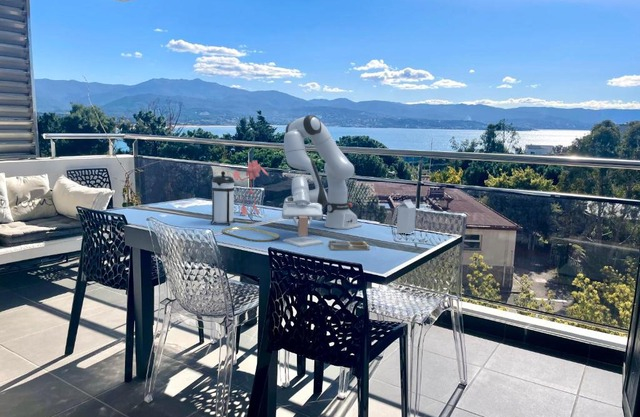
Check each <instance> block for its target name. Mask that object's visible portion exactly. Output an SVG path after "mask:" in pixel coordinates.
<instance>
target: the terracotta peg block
mask: <svg viewBox="0 0 640 417" xmlns="http://www.w3.org/2000/svg"><path fill="white" fill-rule="evenodd" d="M298 221H299V226H297V228H298V229H297V235H298V236H299V237H305V236H306V237H308V233H309V232H308V229H309V228H308V227H309V226H308V221H309V219H308V217H307V216H299V219H298Z"/></svg>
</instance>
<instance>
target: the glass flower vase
mask: <svg viewBox="0 0 640 417" xmlns="http://www.w3.org/2000/svg"><path fill="white" fill-rule="evenodd" d="M247 166H248V167H247V168H246V173H245V176H247V177H245V178H243V179H242V178H241V175H240V172H239V171H238V170H234V171H233V179H234V180H236V181H238V180H239V179H240V181H241V182H242V181H244V180H247V179H249V180H248V181H249V183H250V189H249V190H248V193H247V194H244V195H243V196H242V203H243V204H242V206H241V208H240V211H241V212H240V216H241V215H243V216H246V215H247V212H248V210H247V207H246V206H245V201H244V200H245V199H244V197H245V196H247V195H249V194H250V195H252V194H253V196H254V197H253V198H254V202H253V203H254V204H252V205H253V206H252V210H251V212H250V214H252V213H253V211H255V212H256V213H257V214H260V213H259V210H258V207H257V206H256V195H255V193H254V190H253V189H252V181H251V180H254V181H255V180H256V178H258V177H260V172H261V171H262V172H263V174H264V175H266V176H268V177H269V173H268V172H267V171H266V170H265V169H264V168H263V167H261V164H260V163H258V160H252V161H250V162H248V163H247ZM266 216H268V214H266V215H264V216H262V218H265V217H266Z"/></svg>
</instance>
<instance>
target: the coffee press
mask: <svg viewBox="0 0 640 417" xmlns="http://www.w3.org/2000/svg"><path fill="white" fill-rule="evenodd" d="M211 185H212V186H211V221H210V225H212V226H214V225H215V224H216V223H219V224H224V223H225V224H226V226H231V223H232V224H233V223H235V222H236V221H235V219H234V215H235V214H234V211H235V208H234V205H235V204H234V202H235V201H234V198H235V195H234V194H235V192H234V191H235V178H234V177H232V176H231V175H230V176H229V175H226V171H221V175H215V176H214V177H212V180H211Z"/></svg>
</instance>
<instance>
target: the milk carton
mask: <svg viewBox="0 0 640 417" xmlns="http://www.w3.org/2000/svg"><path fill="white" fill-rule="evenodd" d="M416 211H417V207H416V205H415V204H414V203H413V202H412V199H410V198H409V199H404V200H403V201H402V202H401V204H400V205H398V206H397V219H396V232H397V233H396V234H399V233H405V234H408V233H411V232H413V231H414V232H415V226H416V214H417V212H416Z"/></svg>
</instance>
